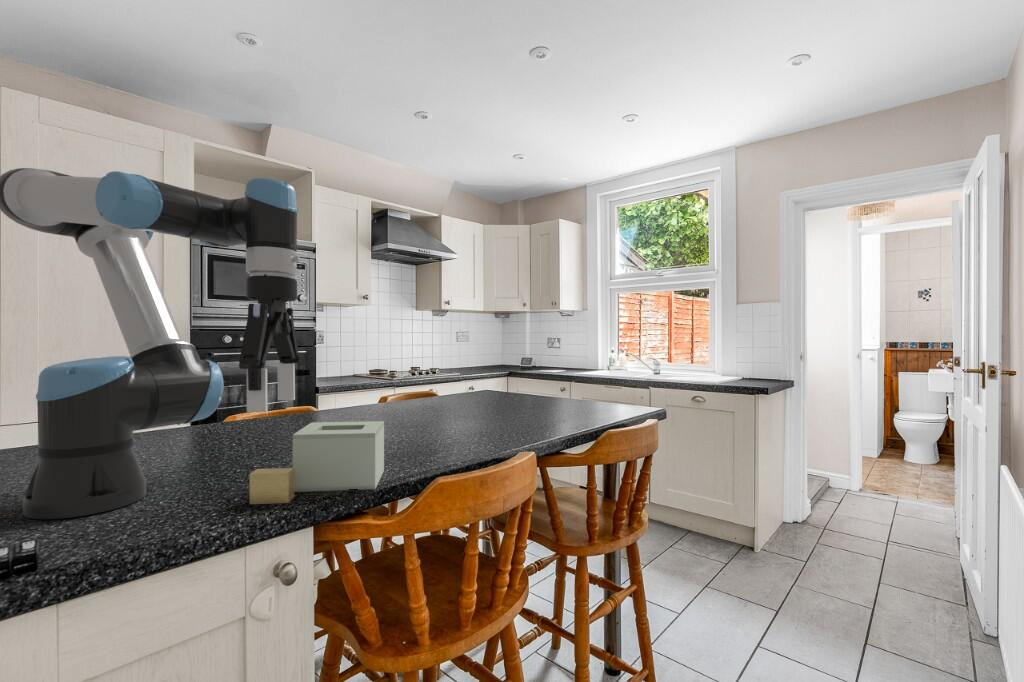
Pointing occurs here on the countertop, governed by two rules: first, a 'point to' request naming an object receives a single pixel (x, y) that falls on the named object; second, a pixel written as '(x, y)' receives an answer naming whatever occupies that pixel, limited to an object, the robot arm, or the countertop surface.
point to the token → (272, 486)
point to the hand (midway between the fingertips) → (273, 405)
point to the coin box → (338, 456)
